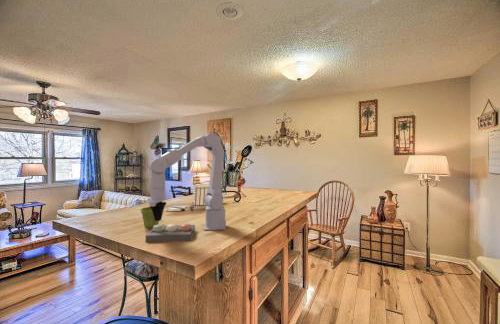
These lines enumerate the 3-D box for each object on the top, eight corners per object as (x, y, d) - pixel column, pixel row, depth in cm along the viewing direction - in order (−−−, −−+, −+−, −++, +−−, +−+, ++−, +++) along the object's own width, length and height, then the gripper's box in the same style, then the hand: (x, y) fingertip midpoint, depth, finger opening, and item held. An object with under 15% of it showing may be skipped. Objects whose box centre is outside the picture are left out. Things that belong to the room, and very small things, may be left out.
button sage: (164, 231, 96) (164, 224, 96) (161, 234, 92) (161, 227, 92) (155, 231, 96) (155, 224, 96) (151, 234, 92) (151, 227, 92)
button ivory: (177, 230, 97) (177, 223, 97) (175, 233, 93) (175, 226, 93) (168, 231, 97) (168, 224, 96) (165, 234, 93) (165, 226, 92)
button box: (194, 230, 101) (194, 224, 101) (190, 240, 89) (189, 233, 89) (155, 232, 100) (155, 225, 100) (145, 242, 88) (145, 234, 88)
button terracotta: (191, 230, 97) (190, 223, 97) (189, 233, 93) (189, 226, 93) (181, 230, 97) (181, 223, 97) (179, 233, 93) (179, 226, 93)
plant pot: (154, 230, 103) (153, 211, 103) (135, 228, 105) (135, 210, 105) (165, 224, 112) (165, 206, 112) (148, 223, 114) (148, 206, 114)
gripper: (153, 185, 101) (154, 216, 101) (141, 190, 86) (141, 225, 87) (170, 185, 101) (170, 215, 102) (160, 190, 87) (160, 225, 87)
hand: (158, 220), depth 94 cm, fingers closed
